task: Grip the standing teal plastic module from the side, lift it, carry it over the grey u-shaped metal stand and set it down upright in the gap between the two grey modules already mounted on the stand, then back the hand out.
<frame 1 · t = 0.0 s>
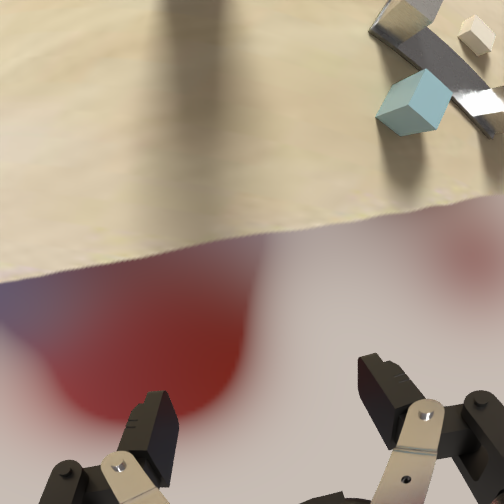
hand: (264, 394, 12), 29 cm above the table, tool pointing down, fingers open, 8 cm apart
grey u-shaped metal stand: (444, 68, 36), on the table
module: (396, 110, 38), on the table
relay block: (470, 38, 35), on the table
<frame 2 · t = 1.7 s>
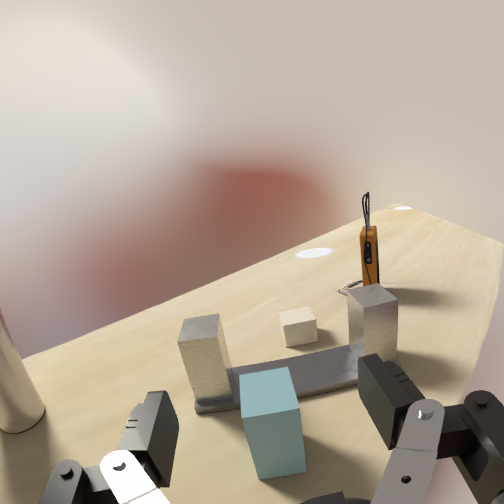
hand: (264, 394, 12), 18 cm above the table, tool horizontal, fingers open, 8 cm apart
grey u-shaped metal stand: (296, 379, 39), on the table
module: (279, 454, 27), on the table
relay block: (299, 337, 50), on the table
multimeter: (354, 295, 62), on the table
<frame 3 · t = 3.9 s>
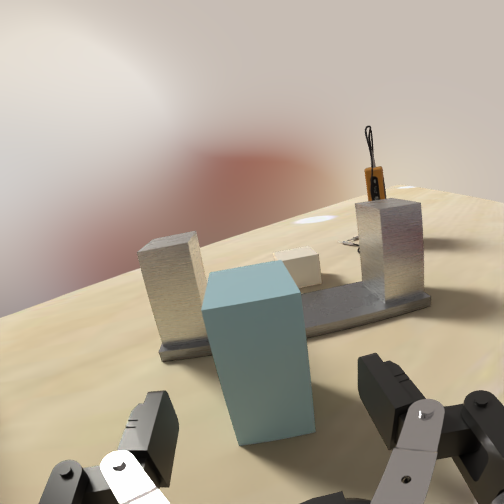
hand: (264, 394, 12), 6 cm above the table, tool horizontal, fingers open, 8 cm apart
grey u-shaped metal stand: (296, 319, 31), on the table
module: (271, 408, 19), on the table
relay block: (298, 282, 42), on the table
multimeter: (362, 246, 54), on the table
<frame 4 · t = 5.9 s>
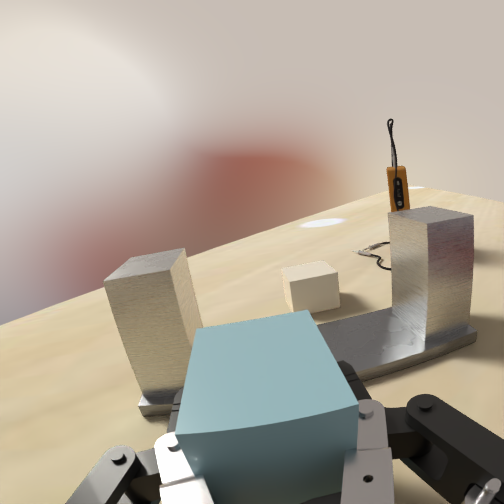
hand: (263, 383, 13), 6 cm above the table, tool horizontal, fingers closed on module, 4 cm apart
grey u-shaped metal stand: (313, 360, 24), on the table
module: (286, 502, 12), on the table, touching gripper
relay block: (311, 304, 35), on the table
multimeter: (380, 257, 46), on the table
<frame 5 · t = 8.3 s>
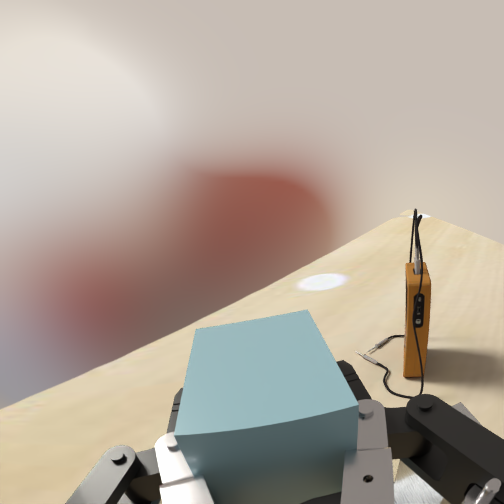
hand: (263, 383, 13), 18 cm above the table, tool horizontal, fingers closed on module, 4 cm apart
module: (286, 502, 12), point 12 cm above the table, touching gripper
multimeter: (387, 365, 38), on the table
when the fingers open (8 cm above the table, at t = 10.6 s): module drops 1 cm, resting on grey u-shaped metal stand.
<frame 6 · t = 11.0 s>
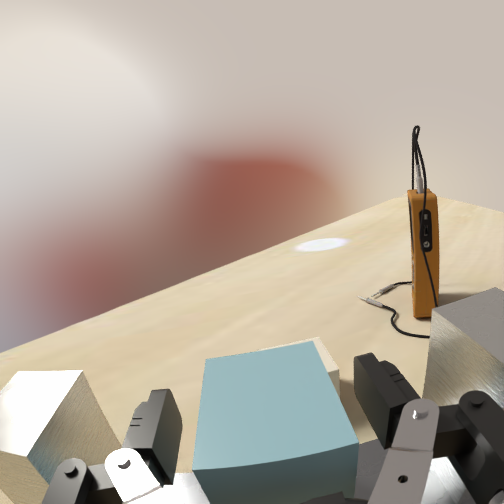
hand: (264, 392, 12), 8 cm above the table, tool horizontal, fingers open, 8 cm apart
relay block: (300, 399, 23), on the table
multimeter: (394, 308, 35), on the table
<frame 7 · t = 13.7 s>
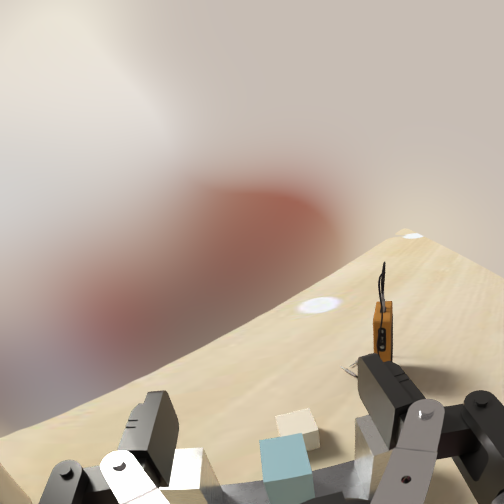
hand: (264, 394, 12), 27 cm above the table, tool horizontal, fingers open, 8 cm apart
grey u-shaped metal stand: (293, 503, 29), on the table
module: (293, 499, 28), point 1 cm above the table, touching grey u-shaped metal stand
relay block: (298, 441, 40), on the table
multimeter: (363, 377, 51), on the table
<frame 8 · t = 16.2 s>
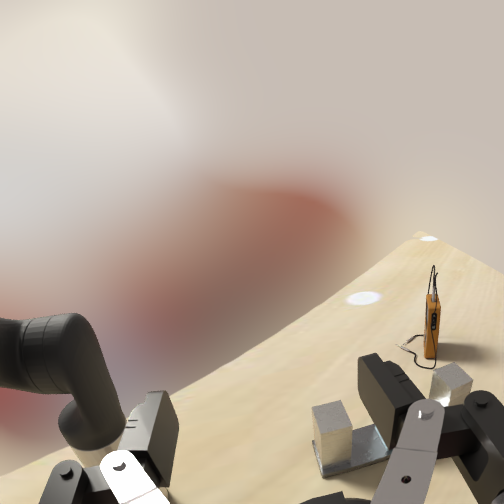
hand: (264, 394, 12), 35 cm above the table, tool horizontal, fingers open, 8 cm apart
grey u-shaped metal stand: (391, 438, 43), on the table
multimeter: (414, 352, 65), on the table
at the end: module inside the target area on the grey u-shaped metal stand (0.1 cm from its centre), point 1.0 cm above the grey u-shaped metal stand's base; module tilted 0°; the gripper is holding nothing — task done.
